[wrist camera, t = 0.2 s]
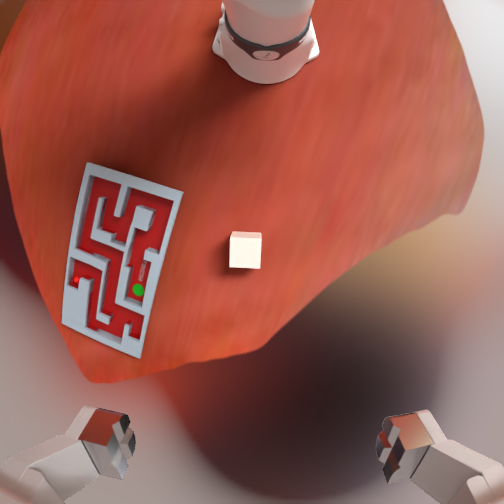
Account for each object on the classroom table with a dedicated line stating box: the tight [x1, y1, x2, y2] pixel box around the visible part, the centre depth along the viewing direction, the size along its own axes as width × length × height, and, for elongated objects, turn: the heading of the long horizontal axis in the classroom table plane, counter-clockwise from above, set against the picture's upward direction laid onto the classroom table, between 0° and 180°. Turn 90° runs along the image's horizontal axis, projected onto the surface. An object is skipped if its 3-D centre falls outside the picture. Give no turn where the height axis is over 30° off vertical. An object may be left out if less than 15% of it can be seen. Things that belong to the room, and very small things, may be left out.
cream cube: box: [229, 232, 261, 269], centre depth 53 cm, size 5×5×5 cm
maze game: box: [62, 162, 184, 359], centre depth 55 cm, size 35×20×3 cm, turn 161°
